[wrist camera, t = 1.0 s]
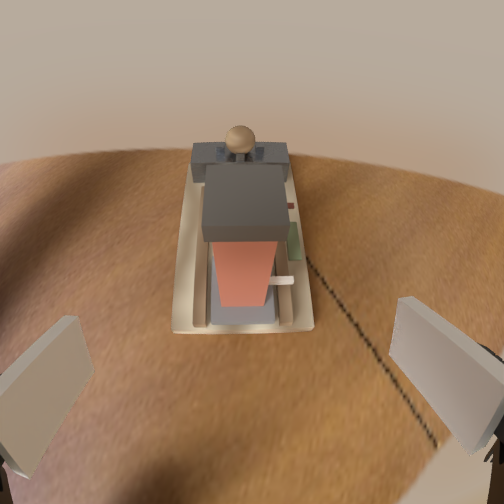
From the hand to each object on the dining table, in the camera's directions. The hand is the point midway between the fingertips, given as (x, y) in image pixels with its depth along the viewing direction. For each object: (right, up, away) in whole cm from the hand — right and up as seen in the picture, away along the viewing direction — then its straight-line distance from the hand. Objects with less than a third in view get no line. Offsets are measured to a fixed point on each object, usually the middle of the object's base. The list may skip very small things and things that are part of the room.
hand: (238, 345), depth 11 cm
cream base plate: (-1, +5, +24) cm, 25 cm away
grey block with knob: (-1, +14, +27) cm, 31 cm away
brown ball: (-1, +16, +24) cm, 29 cm away
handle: (0, 0, +19) cm, 19 cm away
